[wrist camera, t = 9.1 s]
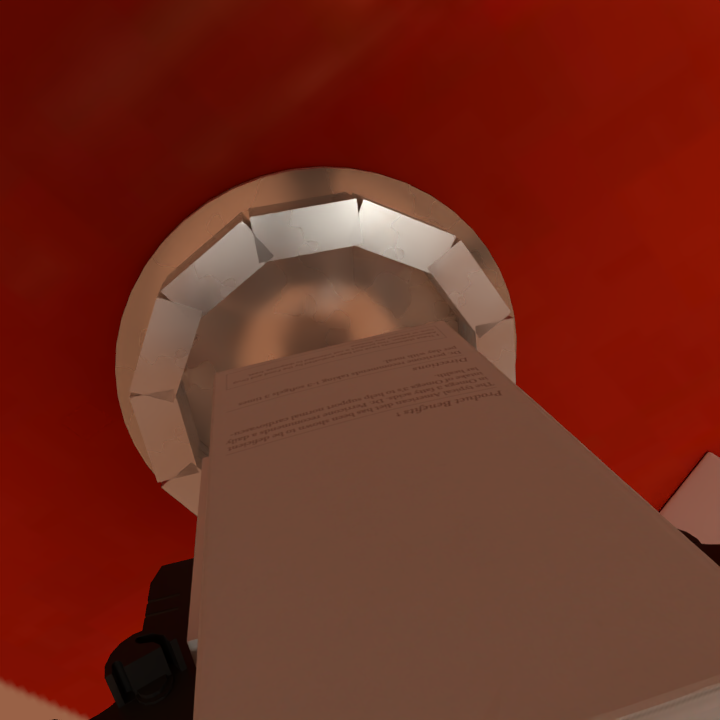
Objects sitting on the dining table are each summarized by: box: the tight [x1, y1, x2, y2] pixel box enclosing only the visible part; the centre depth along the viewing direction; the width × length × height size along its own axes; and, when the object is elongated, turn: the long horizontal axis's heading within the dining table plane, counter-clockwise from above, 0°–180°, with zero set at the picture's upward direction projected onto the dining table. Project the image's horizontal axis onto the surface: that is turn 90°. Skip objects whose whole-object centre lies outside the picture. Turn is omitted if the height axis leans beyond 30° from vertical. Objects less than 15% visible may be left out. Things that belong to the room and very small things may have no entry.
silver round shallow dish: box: [115, 166, 516, 516], centre depth 23 cm, size 16×16×3 cm
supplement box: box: [193, 321, 720, 720], centre depth 13 cm, size 7×7×13 cm
